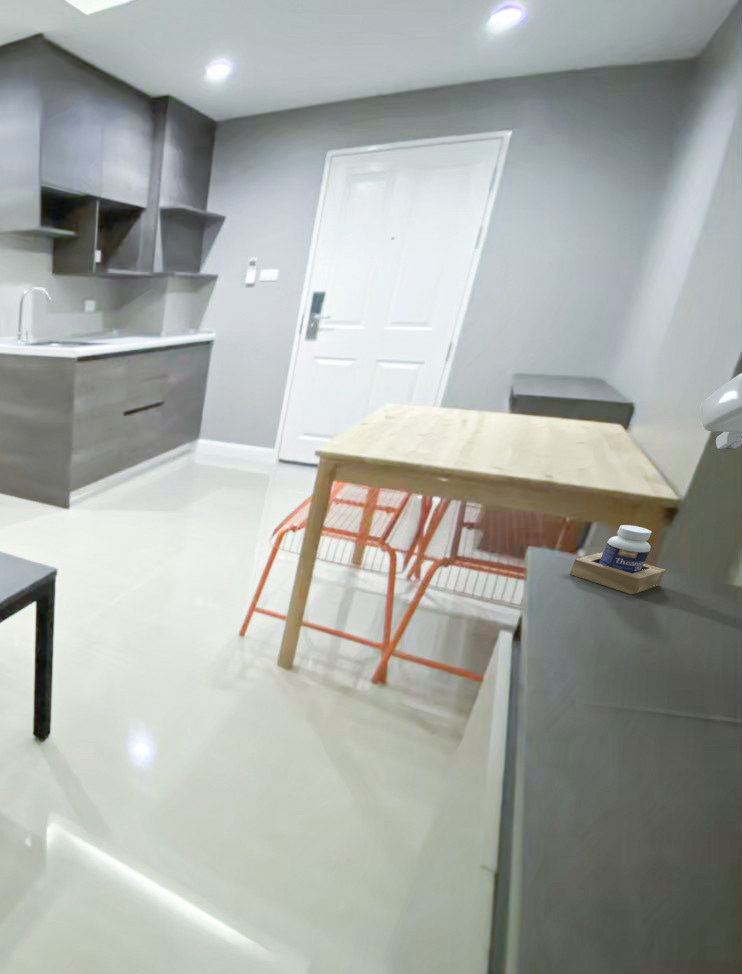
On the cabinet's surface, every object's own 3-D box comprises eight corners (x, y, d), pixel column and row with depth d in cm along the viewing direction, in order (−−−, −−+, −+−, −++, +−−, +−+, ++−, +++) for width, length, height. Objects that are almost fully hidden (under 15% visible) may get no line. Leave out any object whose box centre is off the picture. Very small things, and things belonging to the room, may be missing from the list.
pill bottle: (605, 584, 106) (627, 532, 103) (586, 572, 111) (607, 522, 107) (642, 587, 105) (666, 535, 101) (621, 575, 110) (643, 525, 106)
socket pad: (596, 566, 114) (602, 551, 112) (659, 585, 106) (666, 570, 105) (569, 574, 110) (575, 559, 109) (631, 594, 103) (639, 578, 102)
